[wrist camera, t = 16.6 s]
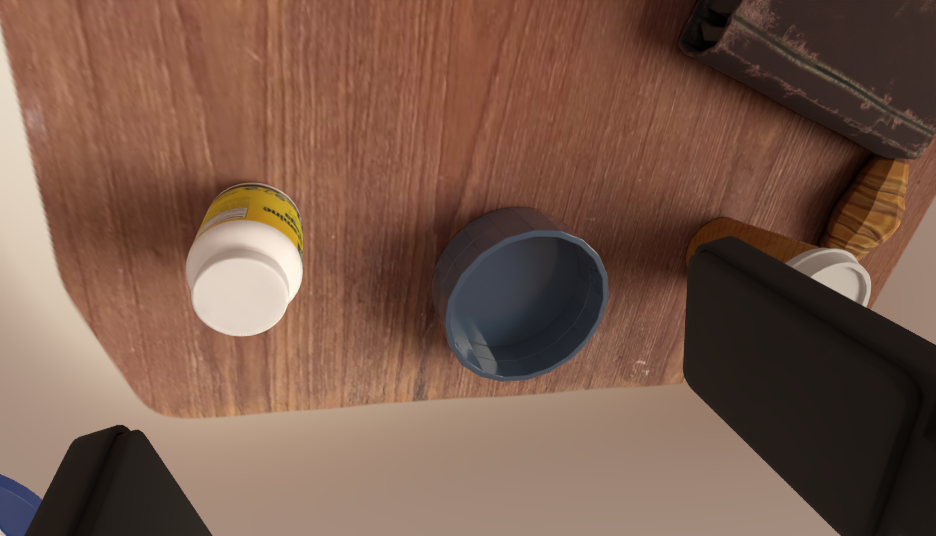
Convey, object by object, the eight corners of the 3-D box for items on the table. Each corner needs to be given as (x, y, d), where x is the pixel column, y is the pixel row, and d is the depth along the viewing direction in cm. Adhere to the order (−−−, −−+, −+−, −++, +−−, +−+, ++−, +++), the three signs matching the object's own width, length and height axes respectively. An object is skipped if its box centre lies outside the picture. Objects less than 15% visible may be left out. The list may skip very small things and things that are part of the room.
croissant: (860, 134, 48) (915, 147, 44) (906, 149, 51) (962, 163, 46) (788, 264, 53) (830, 287, 49) (832, 272, 56) (877, 295, 51)
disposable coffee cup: (716, 304, 53) (816, 377, 43) (651, 274, 49) (745, 347, 39) (775, 223, 50) (897, 280, 40) (712, 184, 46) (830, 237, 36)
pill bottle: (317, 242, 38) (323, 321, 29) (236, 275, 38) (215, 366, 28) (277, 165, 35) (269, 226, 26) (188, 199, 35) (147, 275, 25)
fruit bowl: (446, 364, 47) (461, 401, 43) (415, 231, 40) (429, 259, 36) (583, 321, 49) (610, 352, 45) (575, 188, 42) (606, 210, 38)
